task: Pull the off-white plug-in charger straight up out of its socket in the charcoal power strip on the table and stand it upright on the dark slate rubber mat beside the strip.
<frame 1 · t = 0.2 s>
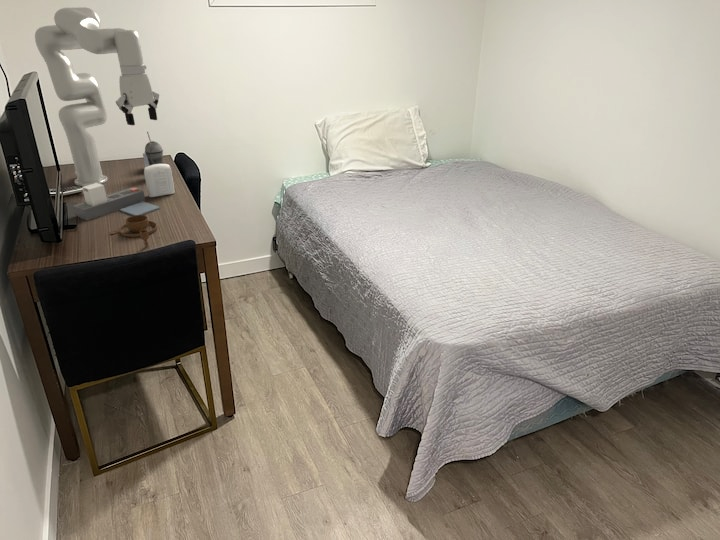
hand: (142, 122, 181), 31 cm above the table, tool pointing down, fingers open, 9 cm apart
power strip: (111, 208, 192), on the table
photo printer: (162, 195, 205), on the table
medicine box: (154, 170, 234), on the table
place setting: (135, 237, 171), on the table
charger: (98, 207, 187), point 2 cm above the table, touching power strip
mat: (140, 209, 191), on the table
beverage cup: (158, 177, 224), on the table
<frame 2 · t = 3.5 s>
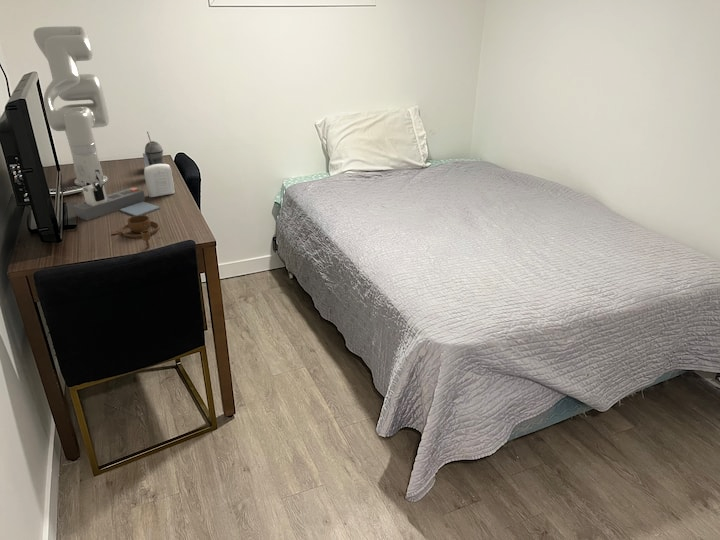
hand: (96, 198, 186), 5 cm above the table, tool pointing down, fingers closed on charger, 4 cm apart
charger: (98, 207, 187), point 2 cm above the table, touching gripper, power strip
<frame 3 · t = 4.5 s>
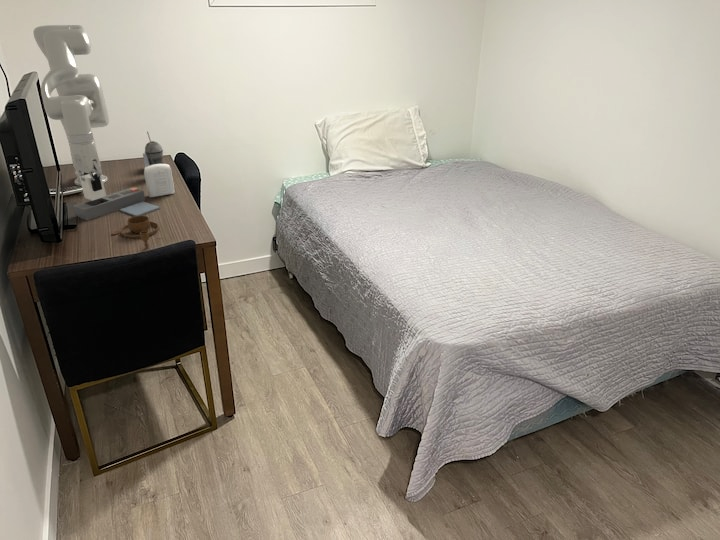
hand: (93, 188, 184), 9 cm above the table, tool pointing down, fingers closed on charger, 4 cm apart
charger: (95, 197, 186), point 6 cm above the table, touching gripper
everything else where it was.
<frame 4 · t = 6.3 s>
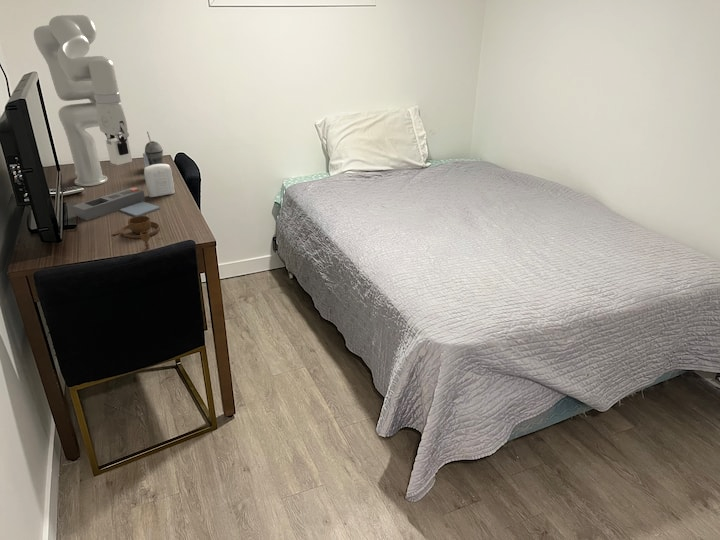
hand: (119, 152, 180), 22 cm above the table, tool pointing down, fingers closed on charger, 4 cm apart
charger: (121, 162, 182), point 18 cm above the table, touching gripper
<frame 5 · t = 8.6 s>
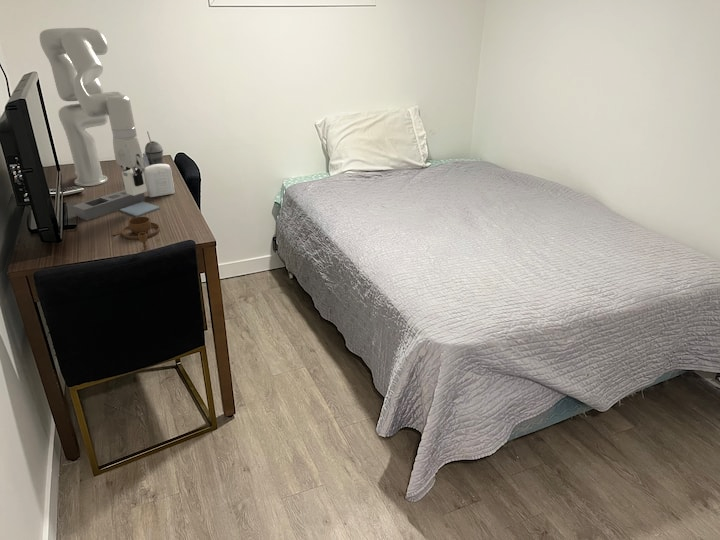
hand: (135, 183, 186), 10 cm above the table, tool pointing down, fingers closed on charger, 4 cm apart
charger: (136, 192, 187), point 7 cm above the table, touching gripper
when the fingers open (5 cm above the table, at t = 10.4 s): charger drops 1 cm, resting on mat.
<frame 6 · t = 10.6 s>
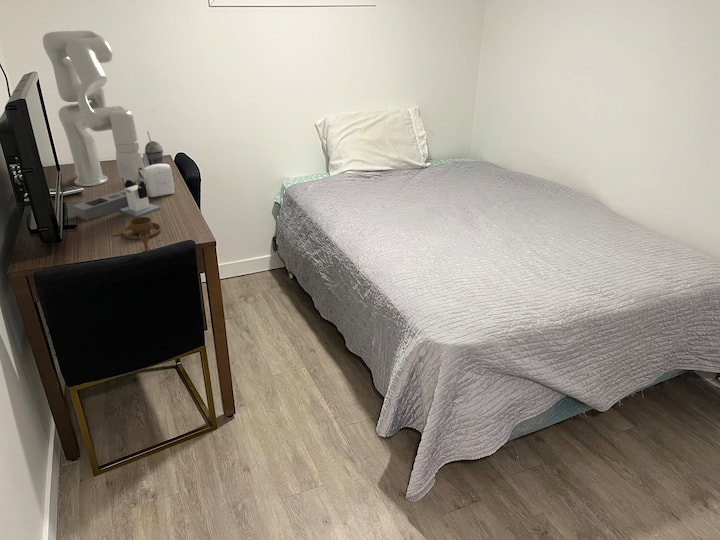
hand: (137, 195, 188), 6 cm above the table, tool pointing down, fingers open, 6 cm apart
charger: (139, 208, 191), point 1 cm above the table, touching mat
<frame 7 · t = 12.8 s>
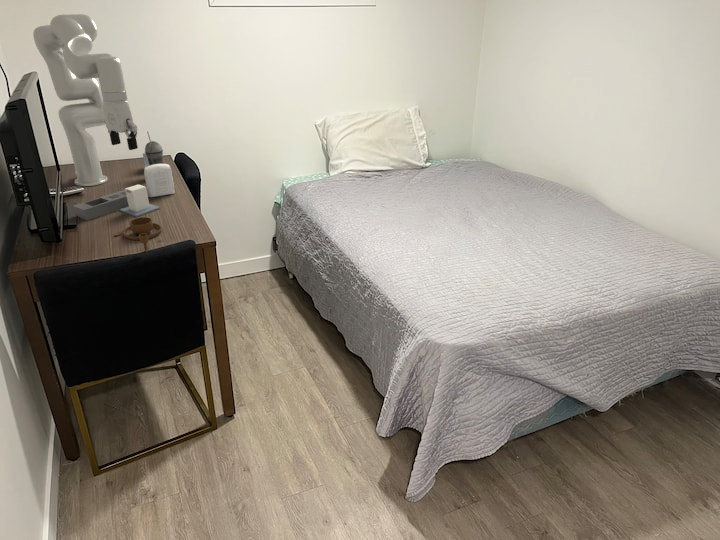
hand: (124, 146, 182), 23 cm above the table, tool pointing down, fingers open, 9 cm apart
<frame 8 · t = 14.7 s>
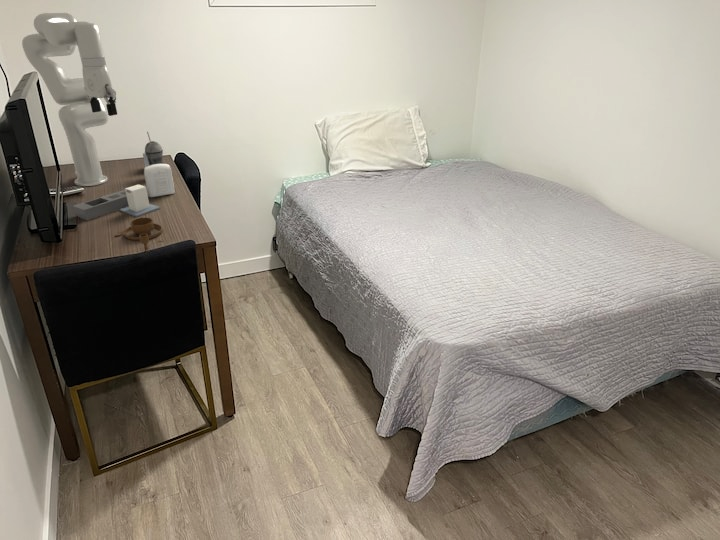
hand: (104, 113, 186), 32 cm above the table, tool pointing down, fingers open, 9 cm apart
at the end: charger 0.1 cm off-centre on the mat, point 0.6 cm above the mat's base; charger tilted 0°; the gripper is holding nothing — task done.
